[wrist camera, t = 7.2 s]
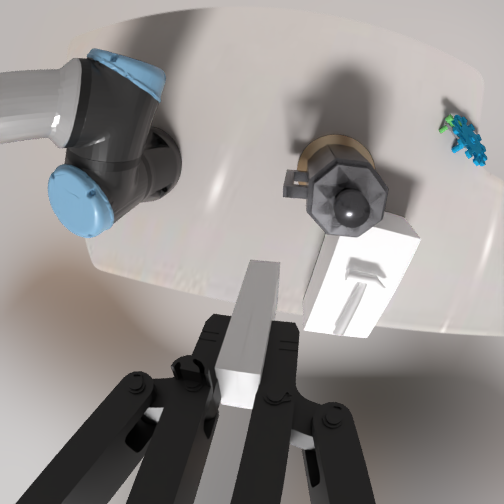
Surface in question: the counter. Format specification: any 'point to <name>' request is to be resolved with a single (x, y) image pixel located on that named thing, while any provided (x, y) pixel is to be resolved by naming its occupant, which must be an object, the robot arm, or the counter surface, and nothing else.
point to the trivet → (330, 140)
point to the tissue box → (358, 277)
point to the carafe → (337, 187)
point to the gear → (466, 138)
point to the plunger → (351, 208)
